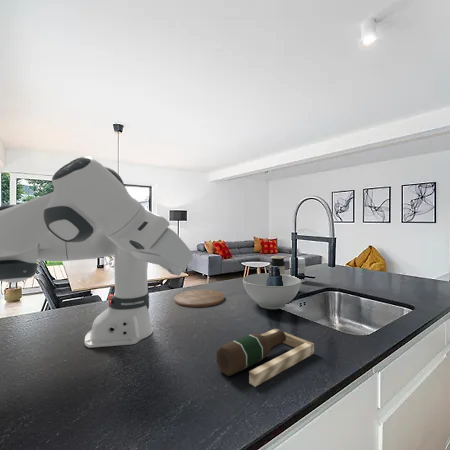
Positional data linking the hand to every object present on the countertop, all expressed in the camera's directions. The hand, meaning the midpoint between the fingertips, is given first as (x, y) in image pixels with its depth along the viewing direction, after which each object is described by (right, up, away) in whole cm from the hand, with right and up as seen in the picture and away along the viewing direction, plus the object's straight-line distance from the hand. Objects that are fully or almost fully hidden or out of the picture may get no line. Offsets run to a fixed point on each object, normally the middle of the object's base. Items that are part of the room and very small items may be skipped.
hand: (177, 272), depth 62 cm
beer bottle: (+10, -25, +12) cm, 30 cm away
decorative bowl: (+32, -27, +69) cm, 81 cm away
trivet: (-2, -27, +80) cm, 84 cm away
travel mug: (+41, -26, +99) cm, 110 cm away
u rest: (+22, -29, +20) cm, 42 cm away
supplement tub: (+56, -25, +115) cm, 131 cm away
